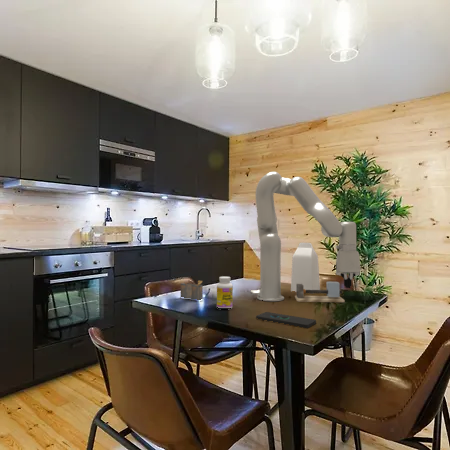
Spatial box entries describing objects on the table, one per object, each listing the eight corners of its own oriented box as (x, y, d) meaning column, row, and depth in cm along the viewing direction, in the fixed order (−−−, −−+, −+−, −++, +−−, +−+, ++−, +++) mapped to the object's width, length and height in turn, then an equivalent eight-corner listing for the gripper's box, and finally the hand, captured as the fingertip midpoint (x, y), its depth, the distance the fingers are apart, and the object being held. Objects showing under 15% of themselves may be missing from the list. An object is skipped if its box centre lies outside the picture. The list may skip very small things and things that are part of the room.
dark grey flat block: (266, 311, 129) (316, 319, 117) (266, 315, 129) (316, 324, 117) (255, 315, 123) (307, 324, 111) (255, 320, 123) (307, 330, 111)
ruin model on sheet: (203, 301, 155) (203, 280, 155) (198, 302, 153) (198, 281, 153) (184, 298, 162) (185, 278, 162) (180, 299, 159) (180, 279, 159)
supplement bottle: (221, 310, 135) (221, 278, 136) (214, 307, 141) (214, 276, 141) (235, 309, 138) (235, 277, 139) (228, 305, 144) (228, 275, 144)
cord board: (297, 301, 154) (297, 286, 154) (295, 297, 162) (294, 283, 163) (344, 302, 152) (344, 286, 152) (339, 298, 161) (339, 283, 161)
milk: (290, 291, 180) (290, 242, 180) (299, 288, 189) (299, 242, 190) (312, 293, 173) (312, 243, 174) (320, 290, 183) (319, 242, 183)
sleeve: (328, 297, 155) (328, 282, 155) (326, 295, 159) (326, 281, 159) (339, 297, 154) (339, 283, 155) (337, 295, 158) (337, 281, 159)
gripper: (333, 248, 153) (333, 288, 153) (366, 248, 152) (367, 289, 152) (329, 247, 161) (329, 286, 161) (361, 247, 160) (361, 286, 159)
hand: (347, 287), depth 156 cm, fingers closed
